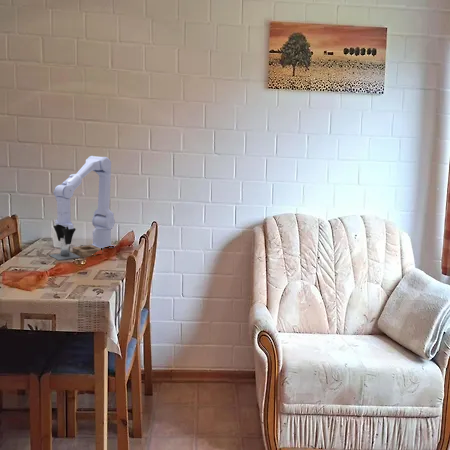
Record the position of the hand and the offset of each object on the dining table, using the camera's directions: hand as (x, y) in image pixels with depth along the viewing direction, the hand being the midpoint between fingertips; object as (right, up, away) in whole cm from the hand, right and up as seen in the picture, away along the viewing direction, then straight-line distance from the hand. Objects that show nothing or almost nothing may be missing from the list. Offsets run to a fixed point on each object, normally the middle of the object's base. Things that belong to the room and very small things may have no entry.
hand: (64, 242), depth 239 cm
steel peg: (0, -6, +1) cm, 6 cm away
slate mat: (0, -6, +1) cm, 7 cm away
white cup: (-8, -3, +21) cm, 22 cm away
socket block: (+8, -5, +8) cm, 13 cm away
